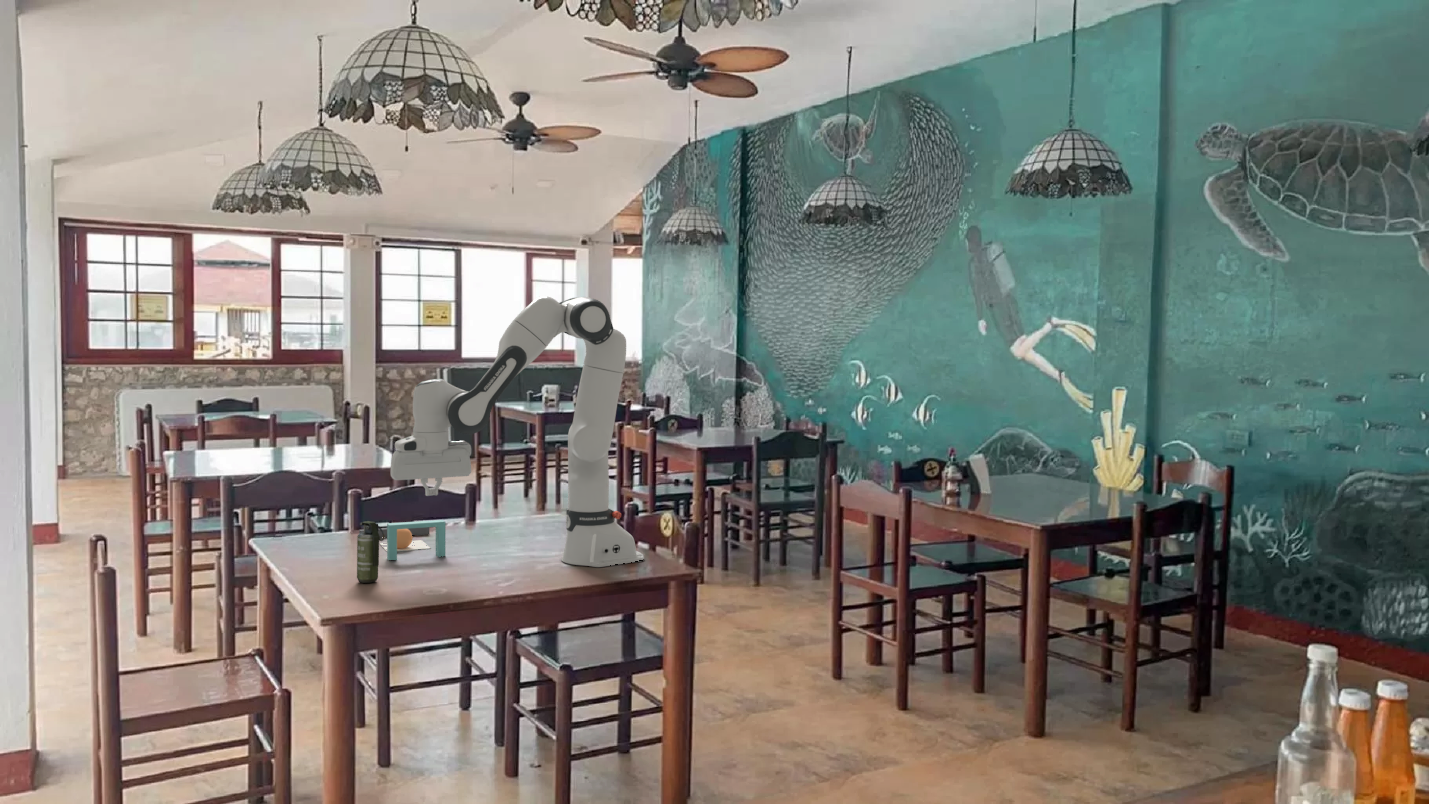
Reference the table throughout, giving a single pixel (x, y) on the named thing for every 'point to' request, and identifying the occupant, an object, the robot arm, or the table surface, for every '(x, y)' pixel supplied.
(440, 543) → the bridge
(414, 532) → the stopper
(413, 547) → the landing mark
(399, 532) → the ball
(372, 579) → the grenade
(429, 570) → the table surface
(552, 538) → the table surface
